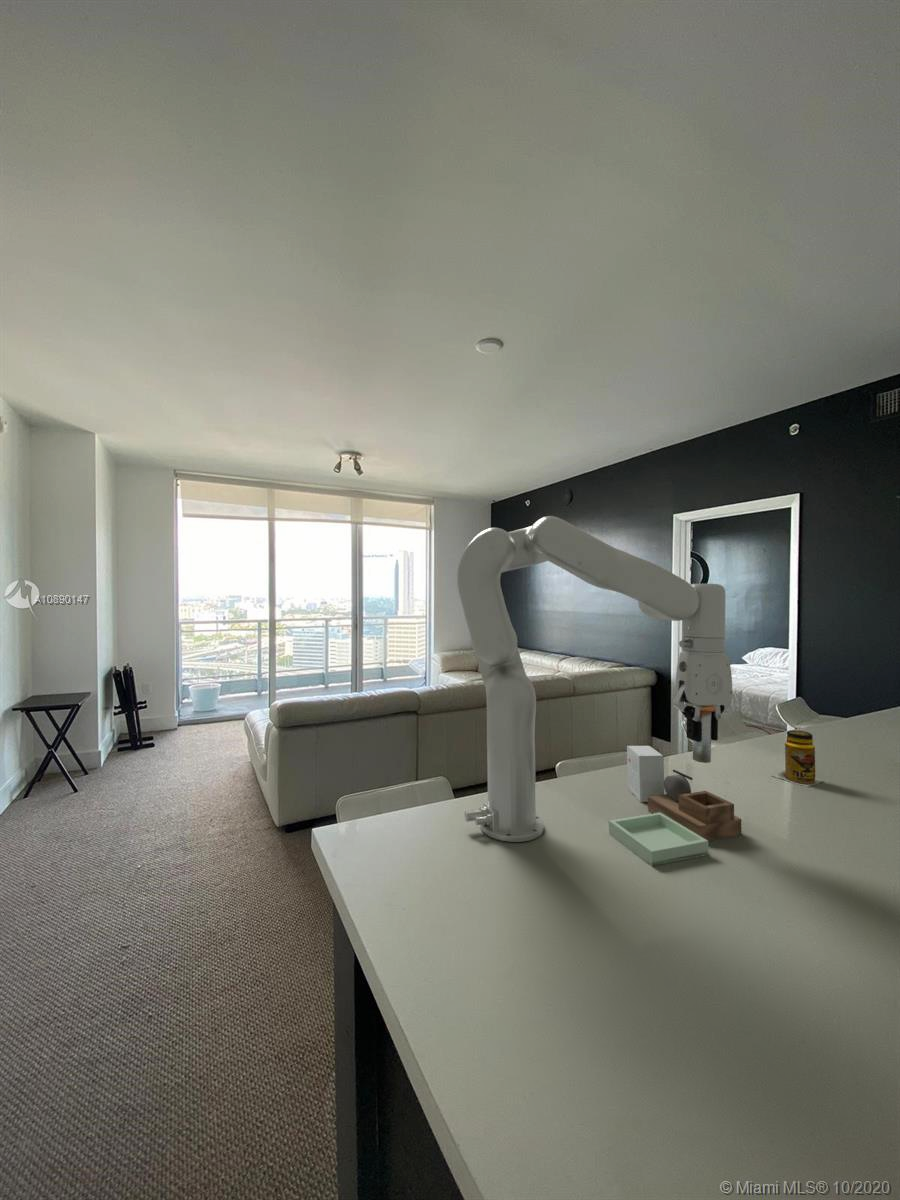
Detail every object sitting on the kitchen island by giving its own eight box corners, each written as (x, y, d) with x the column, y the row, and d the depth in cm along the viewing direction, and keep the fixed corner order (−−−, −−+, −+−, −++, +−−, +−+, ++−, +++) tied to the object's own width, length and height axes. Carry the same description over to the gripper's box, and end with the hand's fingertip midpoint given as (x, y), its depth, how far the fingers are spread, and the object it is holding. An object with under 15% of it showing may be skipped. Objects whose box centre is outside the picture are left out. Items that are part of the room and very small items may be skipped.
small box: (665, 802, 105) (664, 755, 105) (639, 802, 105) (639, 755, 106) (650, 788, 113) (649, 745, 113) (627, 788, 113) (626, 745, 114)
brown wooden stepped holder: (699, 842, 88) (699, 797, 88) (648, 810, 101) (647, 772, 101) (741, 834, 91) (740, 791, 91) (686, 804, 104) (685, 767, 104)
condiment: (808, 787, 113) (807, 737, 113) (770, 776, 121) (769, 729, 121) (823, 781, 117) (822, 733, 117) (786, 771, 124) (785, 725, 124)
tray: (651, 866, 80) (651, 851, 80) (609, 833, 92) (608, 820, 92) (708, 855, 83) (708, 840, 83) (660, 824, 95) (660, 812, 95)
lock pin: (701, 764, 90) (702, 706, 90) (684, 757, 94) (684, 701, 94) (719, 762, 91) (720, 705, 91) (701, 755, 95) (702, 700, 96)
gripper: (683, 648, 87) (682, 748, 87) (752, 647, 92) (751, 741, 91) (654, 644, 94) (653, 736, 94) (720, 644, 99) (719, 731, 99)
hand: (701, 738), depth 93 cm, fingers closed on lock pin, 3 cm apart
